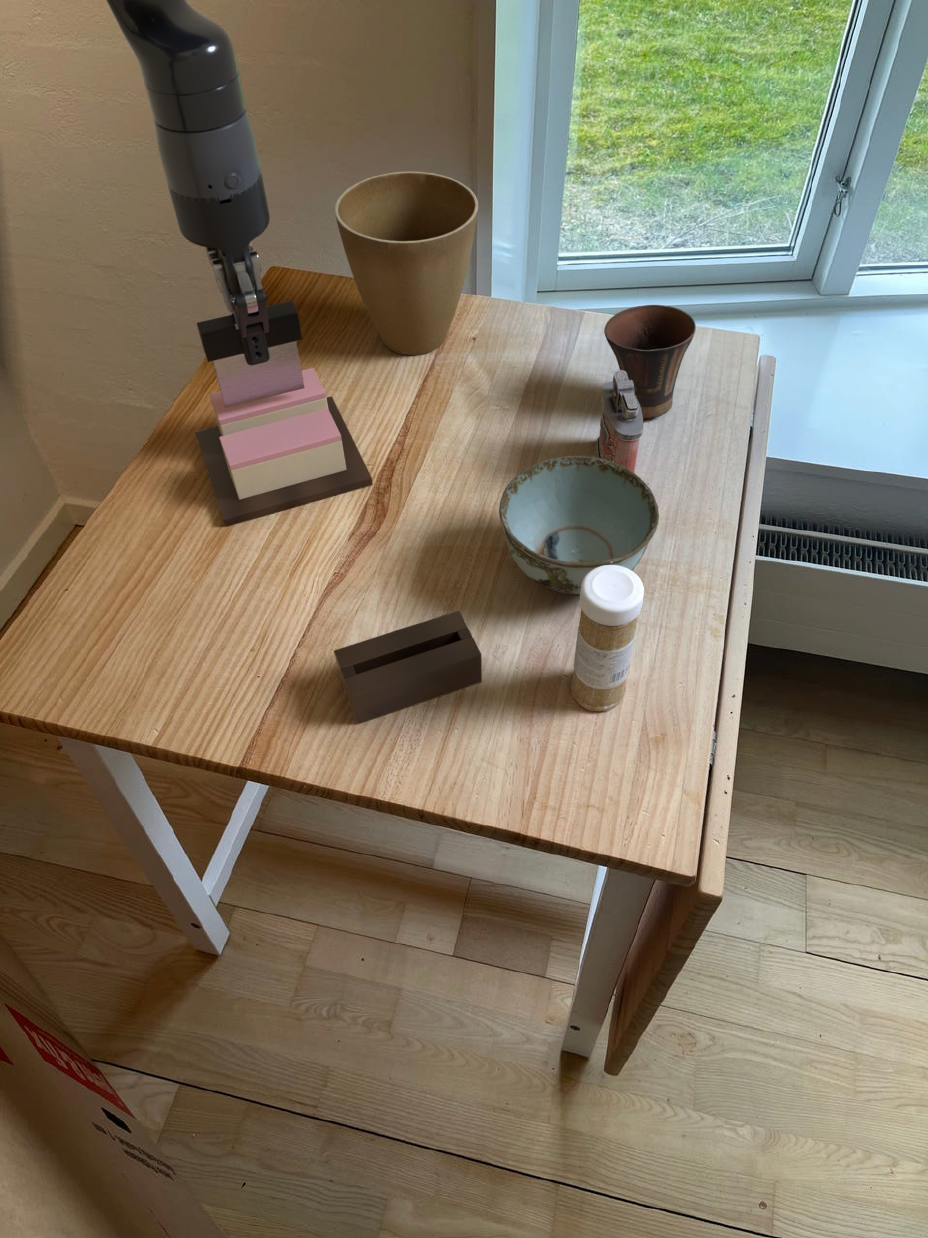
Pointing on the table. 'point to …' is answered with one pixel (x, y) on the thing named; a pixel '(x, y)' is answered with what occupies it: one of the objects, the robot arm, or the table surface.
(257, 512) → the cake board
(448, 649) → the knife stand
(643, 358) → the cup
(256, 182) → the robot arm
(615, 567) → the sprinkles bottle
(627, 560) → the bowl
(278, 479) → the cake
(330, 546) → the table surface
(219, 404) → the slice
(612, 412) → the lighter
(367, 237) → the plant pot
